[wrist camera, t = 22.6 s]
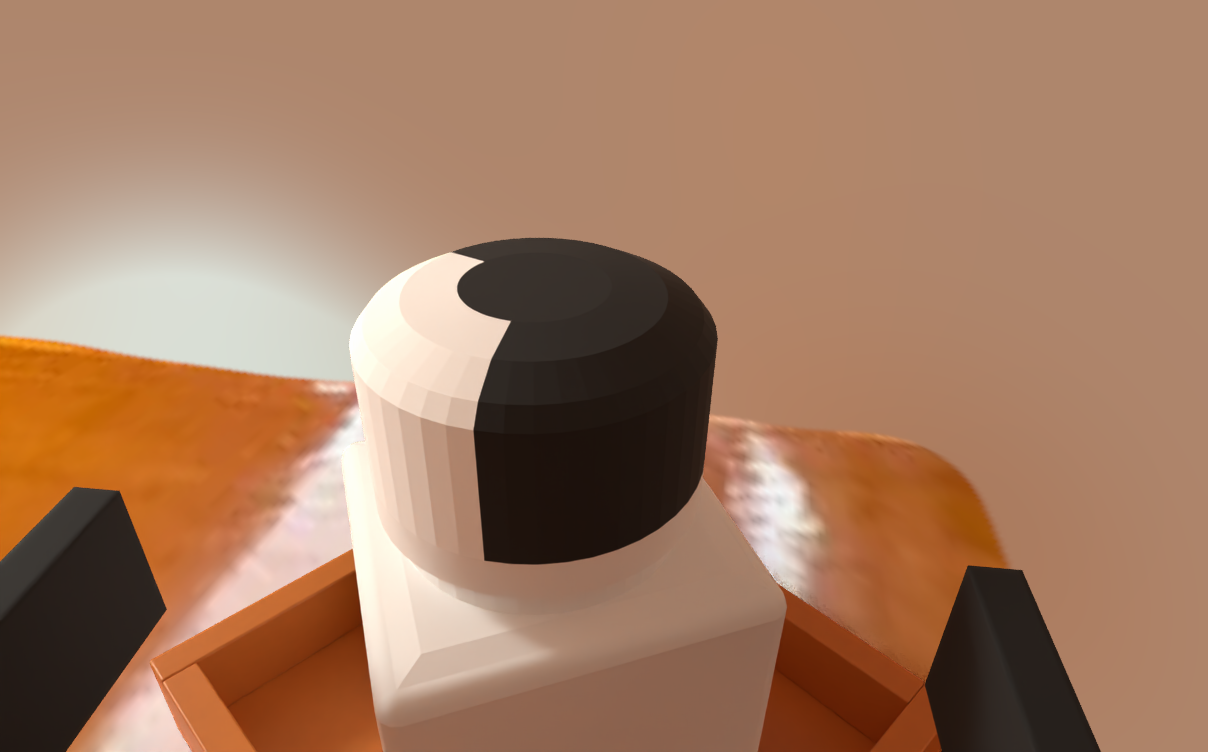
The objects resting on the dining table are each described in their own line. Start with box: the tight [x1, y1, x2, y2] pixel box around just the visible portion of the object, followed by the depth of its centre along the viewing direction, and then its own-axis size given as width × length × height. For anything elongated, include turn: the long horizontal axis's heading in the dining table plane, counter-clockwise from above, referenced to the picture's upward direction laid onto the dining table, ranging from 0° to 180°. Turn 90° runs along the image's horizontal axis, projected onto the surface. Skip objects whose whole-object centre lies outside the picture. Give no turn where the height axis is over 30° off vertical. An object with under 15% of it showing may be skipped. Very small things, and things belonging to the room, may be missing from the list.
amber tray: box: [150, 549, 941, 752], centre depth 19 cm, size 14×13×3 cm
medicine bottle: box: [341, 238, 787, 752], centre depth 17 cm, size 7×7×12 cm
